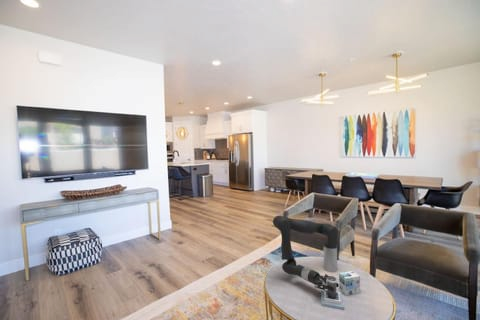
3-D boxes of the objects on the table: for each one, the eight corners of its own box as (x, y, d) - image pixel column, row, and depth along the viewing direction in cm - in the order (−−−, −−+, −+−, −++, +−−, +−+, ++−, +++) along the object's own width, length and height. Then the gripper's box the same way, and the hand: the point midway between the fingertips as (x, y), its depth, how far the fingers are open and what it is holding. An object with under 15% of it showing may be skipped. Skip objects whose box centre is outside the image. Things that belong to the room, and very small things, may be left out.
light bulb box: (345, 295, 136) (345, 278, 135) (338, 288, 142) (338, 272, 142) (360, 292, 138) (360, 276, 137) (353, 286, 145) (353, 270, 144)
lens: (327, 292, 135) (326, 275, 134) (336, 294, 133) (336, 276, 132) (327, 298, 130) (327, 280, 129) (337, 300, 128) (336, 281, 128)
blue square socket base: (321, 292, 139) (321, 287, 139) (342, 296, 135) (341, 290, 135) (321, 305, 128) (321, 299, 128) (344, 310, 124) (344, 304, 124)
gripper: (303, 274, 137) (330, 286, 124) (316, 265, 146) (341, 276, 134) (304, 286, 138) (330, 299, 125) (316, 276, 147) (341, 288, 134)
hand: (336, 287), depth 129 cm, fingers closed on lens, 5 cm apart
